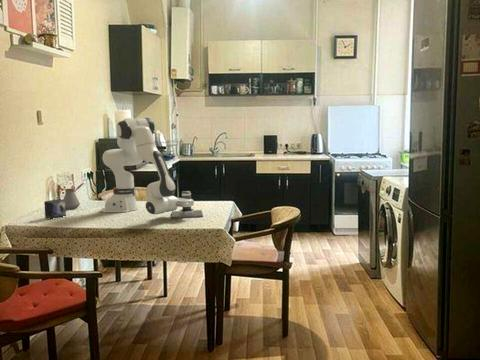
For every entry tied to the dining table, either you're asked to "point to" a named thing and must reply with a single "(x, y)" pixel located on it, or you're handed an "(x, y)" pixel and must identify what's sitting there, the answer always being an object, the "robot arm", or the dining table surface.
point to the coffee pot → (71, 198)
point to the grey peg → (186, 196)
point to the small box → (55, 208)
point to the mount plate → (187, 214)
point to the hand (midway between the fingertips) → (187, 199)
